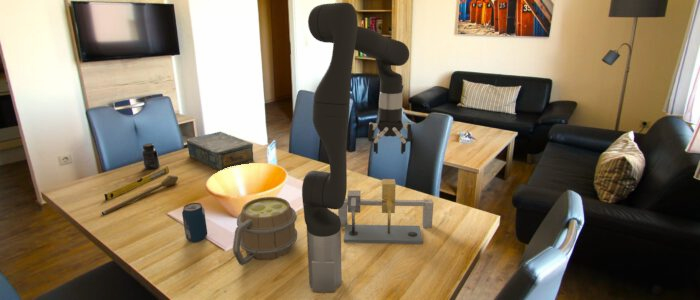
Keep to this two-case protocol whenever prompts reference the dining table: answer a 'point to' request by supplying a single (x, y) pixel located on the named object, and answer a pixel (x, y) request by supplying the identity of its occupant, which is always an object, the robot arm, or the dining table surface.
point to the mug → (265, 229)
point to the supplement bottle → (150, 157)
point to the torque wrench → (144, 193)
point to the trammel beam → (355, 204)
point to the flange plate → (383, 234)
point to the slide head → (388, 199)
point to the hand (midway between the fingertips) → (389, 153)
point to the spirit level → (135, 183)
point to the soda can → (194, 222)
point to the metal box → (220, 150)
